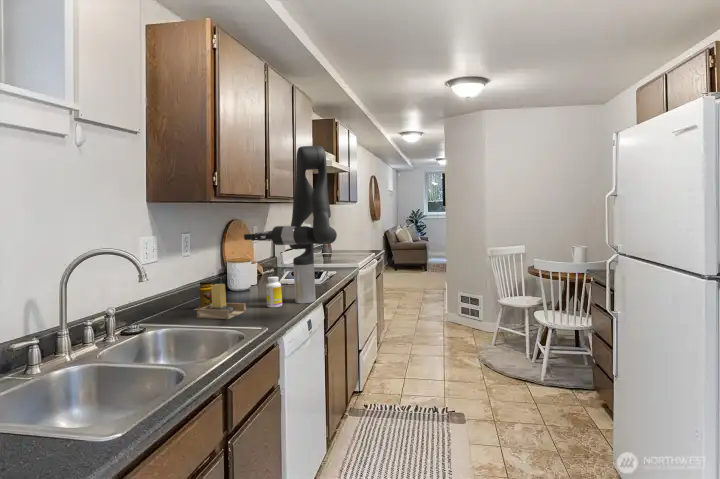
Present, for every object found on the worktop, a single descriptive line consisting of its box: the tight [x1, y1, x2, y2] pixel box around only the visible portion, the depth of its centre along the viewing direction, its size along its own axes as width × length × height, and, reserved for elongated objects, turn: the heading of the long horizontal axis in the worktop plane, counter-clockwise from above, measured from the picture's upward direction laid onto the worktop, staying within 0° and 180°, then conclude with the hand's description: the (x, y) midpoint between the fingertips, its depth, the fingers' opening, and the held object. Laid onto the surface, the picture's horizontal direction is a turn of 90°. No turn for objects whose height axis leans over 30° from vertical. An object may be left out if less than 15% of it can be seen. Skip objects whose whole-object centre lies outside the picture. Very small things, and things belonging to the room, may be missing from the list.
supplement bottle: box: [265, 276, 283, 309], centre depth 212 cm, size 7×7×13 cm
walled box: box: [196, 302, 247, 320], centre depth 199 cm, size 14×14×4 cm
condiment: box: [194, 280, 213, 311], centre depth 213 cm, size 7×8×12 cm
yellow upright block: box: [211, 283, 227, 310], centre depth 199 cm, size 4×4×12 cm
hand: (249, 236), depth 196 cm, fingers open, 8 cm apart
